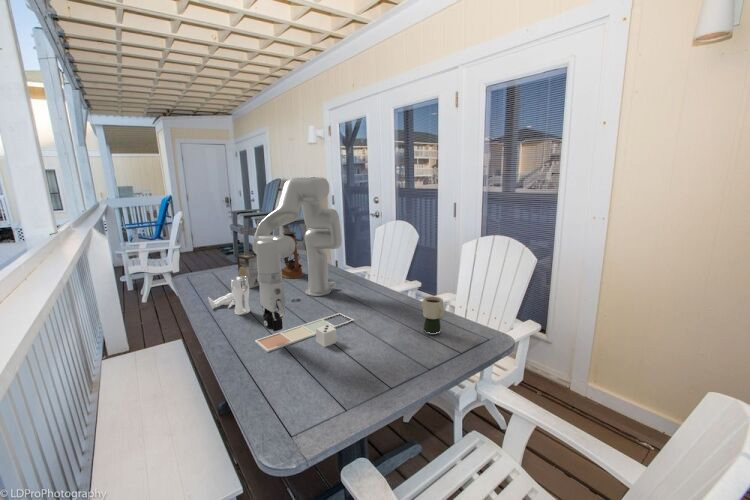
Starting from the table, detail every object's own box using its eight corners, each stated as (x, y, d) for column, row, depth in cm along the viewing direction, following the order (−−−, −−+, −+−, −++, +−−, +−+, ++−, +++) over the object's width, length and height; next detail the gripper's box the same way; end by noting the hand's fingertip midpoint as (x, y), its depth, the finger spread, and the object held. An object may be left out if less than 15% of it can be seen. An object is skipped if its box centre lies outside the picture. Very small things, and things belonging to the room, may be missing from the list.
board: (339, 314, 144) (339, 312, 144) (354, 321, 137) (354, 319, 137) (254, 342, 120) (254, 340, 120) (267, 352, 113) (267, 350, 113)
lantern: (309, 276, 197) (307, 224, 190) (287, 280, 189) (284, 226, 182) (296, 270, 210) (293, 221, 203) (275, 273, 202) (272, 222, 196)
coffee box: (238, 285, 180) (236, 255, 177) (248, 282, 186) (246, 253, 182) (250, 288, 176) (247, 258, 172) (260, 285, 181) (258, 255, 178)
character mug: (449, 335, 125) (451, 301, 122) (436, 341, 121) (437, 306, 118) (428, 325, 134) (429, 293, 131) (414, 330, 129) (415, 297, 127)
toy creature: (206, 294, 155) (233, 284, 160) (210, 306, 157) (237, 295, 162) (210, 302, 145) (238, 291, 150) (215, 315, 147) (243, 303, 152)
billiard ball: (260, 329, 118) (259, 312, 117) (275, 323, 123) (274, 307, 121) (271, 334, 114) (270, 317, 113) (285, 328, 119) (285, 311, 118)
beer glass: (245, 316, 142) (242, 281, 139) (230, 314, 143) (226, 280, 140) (254, 309, 148) (251, 276, 145) (239, 308, 150) (236, 275, 147)
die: (328, 337, 123) (327, 324, 122) (336, 342, 120) (336, 328, 119) (316, 342, 120) (315, 328, 119) (324, 347, 116) (324, 333, 115)
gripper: (293, 280, 111) (295, 332, 115) (268, 269, 123) (271, 316, 127) (271, 284, 106) (274, 339, 110) (248, 273, 118) (252, 322, 122)
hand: (273, 326), depth 118 cm, fingers closed on billiard ball, 6 cm apart
